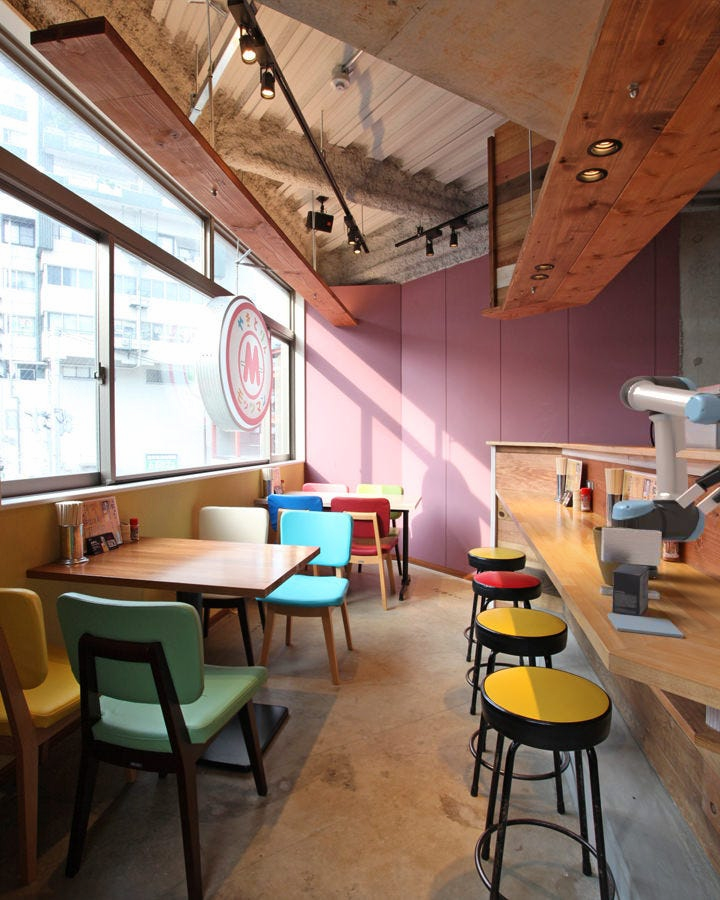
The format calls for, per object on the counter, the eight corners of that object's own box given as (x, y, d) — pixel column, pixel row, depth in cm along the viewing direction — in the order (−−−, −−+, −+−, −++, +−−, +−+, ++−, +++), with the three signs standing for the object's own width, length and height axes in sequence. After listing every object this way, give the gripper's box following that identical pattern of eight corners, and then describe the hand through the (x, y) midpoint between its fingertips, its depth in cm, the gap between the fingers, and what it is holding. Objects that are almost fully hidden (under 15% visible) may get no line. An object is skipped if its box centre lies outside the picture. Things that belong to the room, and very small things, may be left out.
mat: (607, 615, 119) (607, 613, 119) (668, 621, 116) (668, 619, 116) (617, 630, 110) (617, 627, 110) (684, 637, 106) (684, 635, 106)
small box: (620, 602, 130) (621, 562, 130) (648, 608, 126) (650, 566, 126) (610, 612, 122) (611, 569, 122) (640, 618, 118) (641, 574, 118)
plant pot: (588, 586, 144) (590, 531, 144) (593, 575, 157) (595, 524, 157) (648, 595, 137) (650, 537, 136) (648, 582, 149) (650, 529, 149)
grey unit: (599, 590, 140) (601, 526, 140) (655, 595, 136) (657, 530, 136) (602, 594, 137) (604, 528, 136) (659, 599, 133) (661, 532, 133)
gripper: (807, 460, 107) (724, 525, 110) (749, 458, 131) (683, 512, 135) (778, 435, 108) (698, 500, 112) (726, 438, 132) (661, 492, 136)
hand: (689, 507), depth 123 cm, fingers open, 13 cm apart
